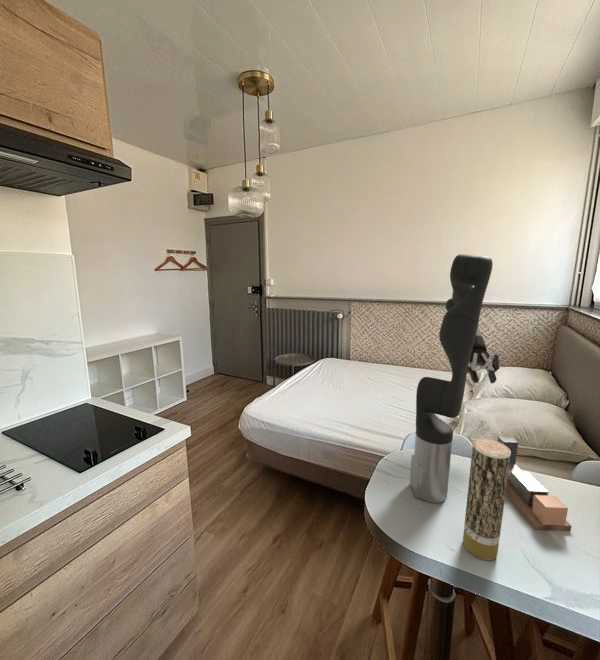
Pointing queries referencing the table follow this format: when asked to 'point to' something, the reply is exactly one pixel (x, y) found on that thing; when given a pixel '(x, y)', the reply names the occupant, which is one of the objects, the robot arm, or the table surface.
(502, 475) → the bark covered log
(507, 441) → the brushed grey metal block
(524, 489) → the outer sleeve
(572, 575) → the table surface
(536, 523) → the guide board
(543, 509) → the socket
